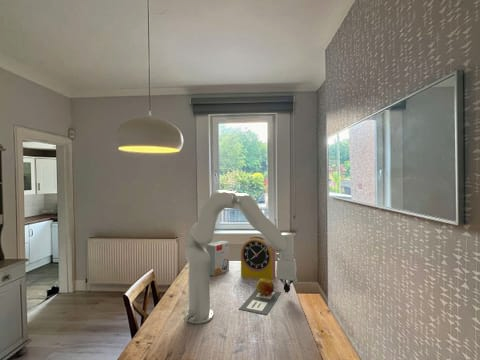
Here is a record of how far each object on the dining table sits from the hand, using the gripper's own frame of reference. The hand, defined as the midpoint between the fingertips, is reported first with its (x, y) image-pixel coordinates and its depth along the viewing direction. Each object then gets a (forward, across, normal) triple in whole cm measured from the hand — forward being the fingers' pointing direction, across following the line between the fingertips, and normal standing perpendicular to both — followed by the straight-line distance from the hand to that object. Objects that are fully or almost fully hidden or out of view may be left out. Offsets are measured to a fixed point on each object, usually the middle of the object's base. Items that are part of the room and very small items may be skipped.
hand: (287, 291), depth 135 cm
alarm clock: (+4, -25, +25) cm, 35 cm away
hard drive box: (+4, -53, +22) cm, 57 cm away
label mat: (+4, -12, -7) cm, 14 cm away
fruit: (+3, -12, 0) cm, 12 cm away
